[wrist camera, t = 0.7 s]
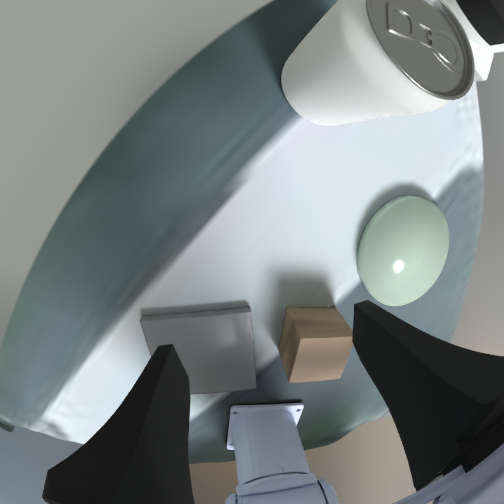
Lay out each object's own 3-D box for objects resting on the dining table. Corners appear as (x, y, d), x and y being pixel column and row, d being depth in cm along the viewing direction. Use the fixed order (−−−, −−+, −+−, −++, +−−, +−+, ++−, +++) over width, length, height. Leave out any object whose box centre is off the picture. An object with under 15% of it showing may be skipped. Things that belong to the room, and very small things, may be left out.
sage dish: (424, 298, 25) (431, 304, 24) (345, 300, 24) (350, 307, 22) (450, 205, 22) (458, 208, 21) (370, 186, 20) (377, 188, 19)
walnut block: (323, 347, 25) (339, 378, 21) (278, 348, 25) (288, 382, 20) (335, 307, 24) (356, 336, 20) (286, 306, 23) (300, 338, 19)
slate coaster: (255, 382, 26) (256, 388, 25) (166, 389, 25) (165, 394, 24) (249, 306, 22) (250, 311, 22) (142, 315, 22) (139, 321, 21)
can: (356, 135, 19) (480, 134, 8) (273, 116, 18) (351, 70, 7) (364, 61, 17) (473, 16, 6) (285, 38, 16) (354, -54, 5)
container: (359, 31, 16) (468, -32, 4) (389, -10, 14) (477, -61, 2) (424, 91, 18) (545, 80, 6) (446, 44, 16) (544, 25, 4)
